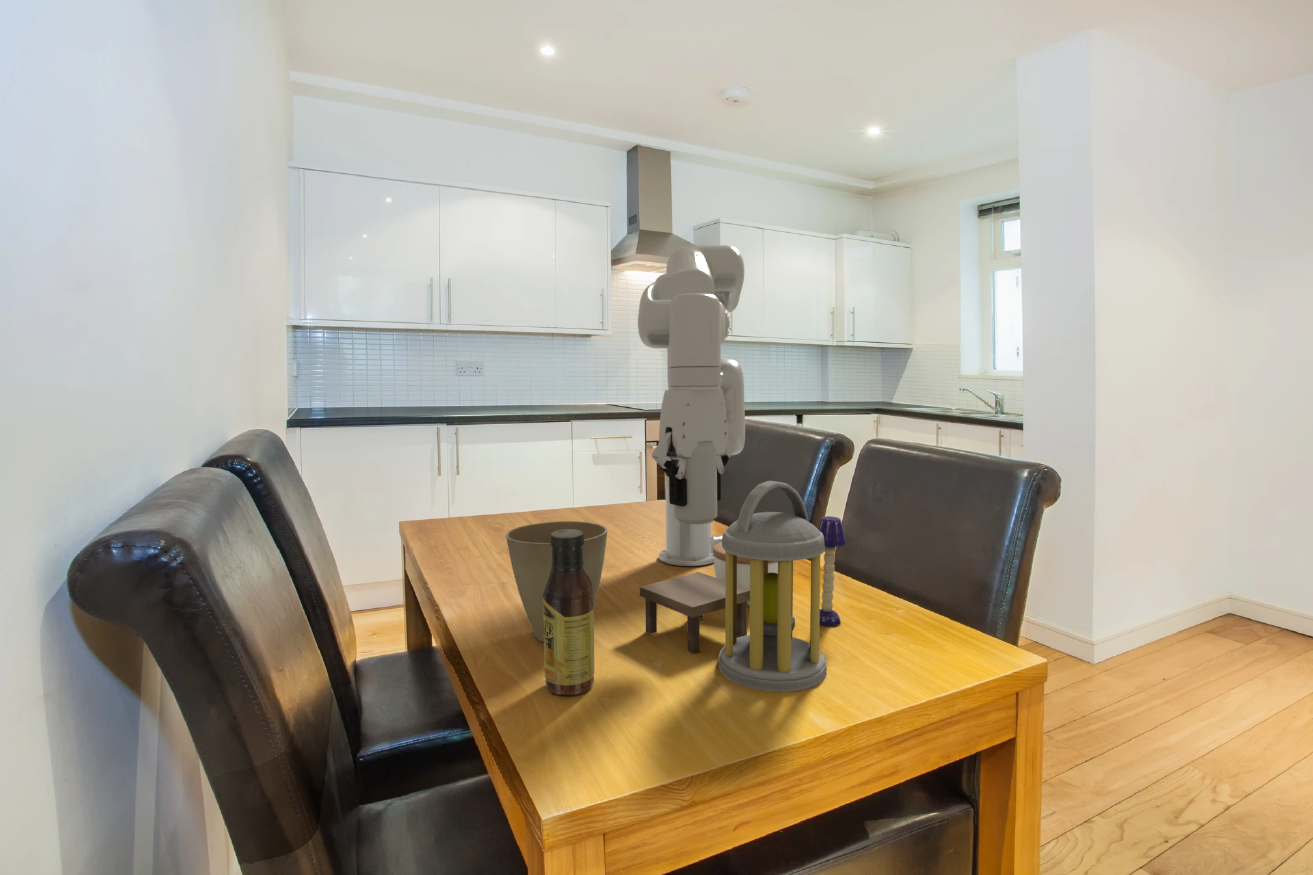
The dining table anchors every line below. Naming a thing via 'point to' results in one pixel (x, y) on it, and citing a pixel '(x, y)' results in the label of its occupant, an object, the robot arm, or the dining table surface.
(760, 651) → the lantern
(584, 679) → the sauce bottle
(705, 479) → the beverage can
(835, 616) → the toy lamp
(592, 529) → the plant pot
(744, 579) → the lidded bowl
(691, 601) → the small brown table
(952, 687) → the dining table surface
